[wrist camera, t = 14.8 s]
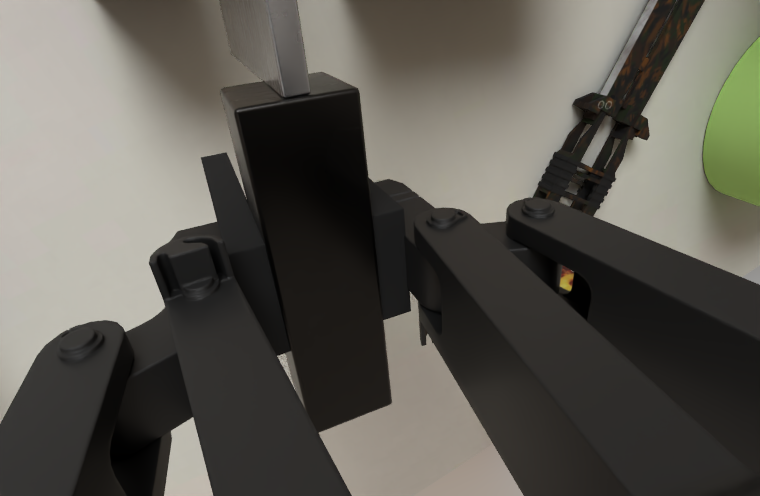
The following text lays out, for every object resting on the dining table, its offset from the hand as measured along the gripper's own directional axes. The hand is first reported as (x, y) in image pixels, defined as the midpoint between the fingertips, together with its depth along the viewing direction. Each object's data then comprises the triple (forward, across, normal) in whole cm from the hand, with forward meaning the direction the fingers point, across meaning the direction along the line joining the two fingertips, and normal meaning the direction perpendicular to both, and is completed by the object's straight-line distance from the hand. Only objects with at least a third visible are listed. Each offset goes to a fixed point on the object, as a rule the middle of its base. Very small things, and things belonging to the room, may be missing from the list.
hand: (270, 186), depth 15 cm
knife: (+9, +25, -1) cm, 27 cm away
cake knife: (0, 0, +8) cm, 8 cm away
